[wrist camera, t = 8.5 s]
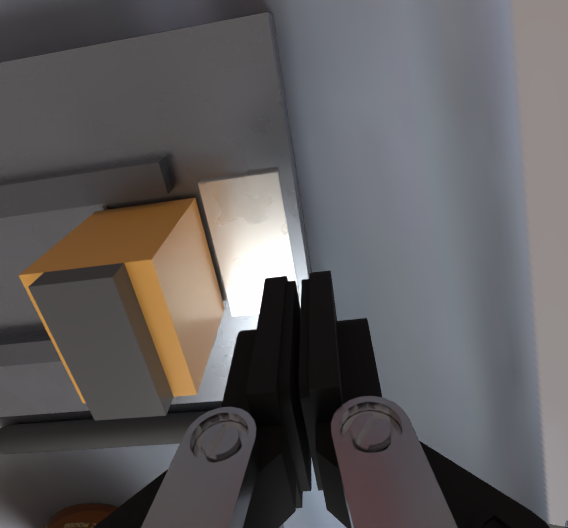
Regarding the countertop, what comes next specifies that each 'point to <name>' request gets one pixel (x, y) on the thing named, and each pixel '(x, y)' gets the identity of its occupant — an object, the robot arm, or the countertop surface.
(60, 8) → the countertop surface
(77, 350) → the orange box grey panel
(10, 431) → the cord
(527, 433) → the countertop surface
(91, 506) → the food container
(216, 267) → the breaker panel
